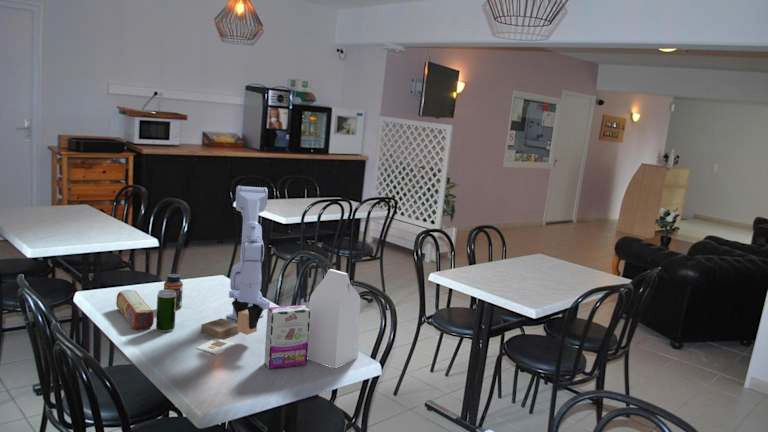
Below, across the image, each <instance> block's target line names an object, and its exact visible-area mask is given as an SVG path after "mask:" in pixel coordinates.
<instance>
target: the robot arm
mask: <svg viewBox="0 0 768 432" xmlns="http://www.w3.org/2000/svg"><path fill="white" fill-rule="evenodd" d="M235 190H236V191H235V209H236V211H238V212H240V214H241V216H242V230H241V232H242V233H241V245H240V255H239V257H240V259H239V260H240V261H239V262H237V263H235V264H234V265H233V266H232V268H231V273H230V283H229V285H230V286H229V287H230V290H229V292H228V298H230V299H233V301H231V306H232V313H229V314H227V315H226V317H228V318H230V319H233V320H236V321H238V312H240V311H243V310H246V309H248V313H249V328H250V329H254V328H256V326H258V322H259V320H260V318H262V317H264V314H263V311H265V310H268V308H269V307H270V305H271V304H270V301H268V300H266V299H264V298H263V294H262V292H261V289H262V280H263V279H262V275H263V274H262V263H263V261H264V258H265V256H264V255H265V245H264V240H263V227H262V226H261V224H260V223H259V214H260V213H263V212H264V211H265V210H266V208H267V204H268V196H269V193H268V188H267V187H265V186H264V187H262V186H261V187H260V186H259V187H258V186H257V187H256V186H244V185H238V186H236V189H235Z"/></svg>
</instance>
